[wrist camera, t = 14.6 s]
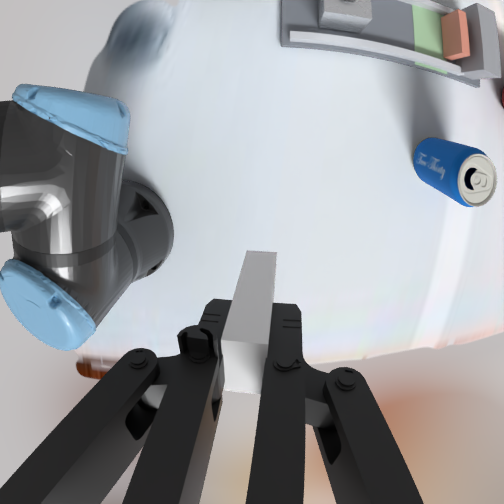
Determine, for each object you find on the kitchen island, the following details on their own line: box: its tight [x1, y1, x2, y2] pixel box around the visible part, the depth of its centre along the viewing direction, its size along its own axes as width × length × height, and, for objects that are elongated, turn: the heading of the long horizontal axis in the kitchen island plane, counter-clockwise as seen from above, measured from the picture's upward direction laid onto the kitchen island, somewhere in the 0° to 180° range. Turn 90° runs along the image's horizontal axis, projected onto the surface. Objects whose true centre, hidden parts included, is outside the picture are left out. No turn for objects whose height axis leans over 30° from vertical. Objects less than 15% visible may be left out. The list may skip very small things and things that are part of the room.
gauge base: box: [281, 0, 501, 88], centre depth 22 cm, size 28×11×8 cm, turn 89°
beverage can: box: [413, 138, 497, 207], centre depth 28 cm, size 6×6×12 cm
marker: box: [441, 9, 470, 60], centre depth 21 cm, size 1×6×5 cm, turn 0°
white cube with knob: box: [318, 0, 372, 33], centre depth 22 cm, size 5×6×7 cm
